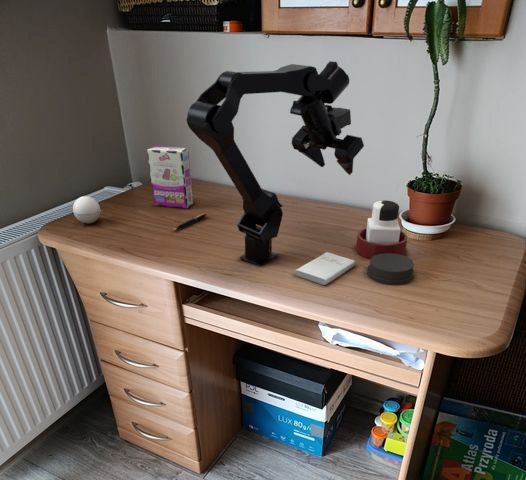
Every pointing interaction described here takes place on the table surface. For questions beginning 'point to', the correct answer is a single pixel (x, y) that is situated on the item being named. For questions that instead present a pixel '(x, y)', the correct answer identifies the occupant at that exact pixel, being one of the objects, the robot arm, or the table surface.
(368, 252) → the tin
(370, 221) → the medicine bottle
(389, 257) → the stand
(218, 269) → the table surface
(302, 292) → the table surface
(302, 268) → the hard drive
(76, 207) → the white sphere
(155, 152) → the candy bar box
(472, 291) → the table surface
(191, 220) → the fountain pen
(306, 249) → the table surface
